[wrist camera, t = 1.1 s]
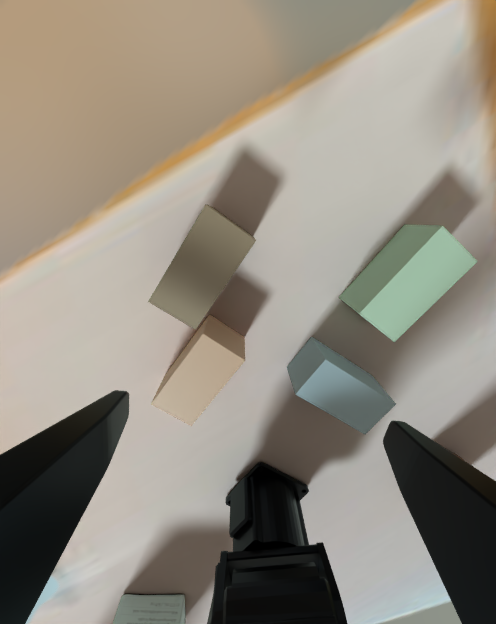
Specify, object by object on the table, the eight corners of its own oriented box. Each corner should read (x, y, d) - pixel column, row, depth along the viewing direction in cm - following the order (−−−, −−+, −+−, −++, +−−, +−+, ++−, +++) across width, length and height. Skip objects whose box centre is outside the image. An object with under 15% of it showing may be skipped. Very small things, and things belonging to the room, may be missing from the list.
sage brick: (403, 224, 20) (442, 225, 16) (433, 253, 20) (477, 261, 17) (338, 297, 21) (358, 313, 17) (367, 321, 22) (394, 342, 18)
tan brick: (209, 313, 21) (202, 333, 18) (244, 336, 22) (245, 360, 18) (165, 374, 23) (150, 404, 19) (199, 393, 24) (191, 426, 20)
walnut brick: (212, 207, 19) (205, 204, 15) (253, 236, 19) (256, 240, 16) (165, 286, 21) (148, 301, 17) (203, 310, 21) (195, 329, 18)
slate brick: (371, 374, 24) (396, 403, 20) (345, 401, 25) (365, 434, 21) (311, 335, 22) (325, 359, 19) (286, 366, 23) (295, 394, 19)
